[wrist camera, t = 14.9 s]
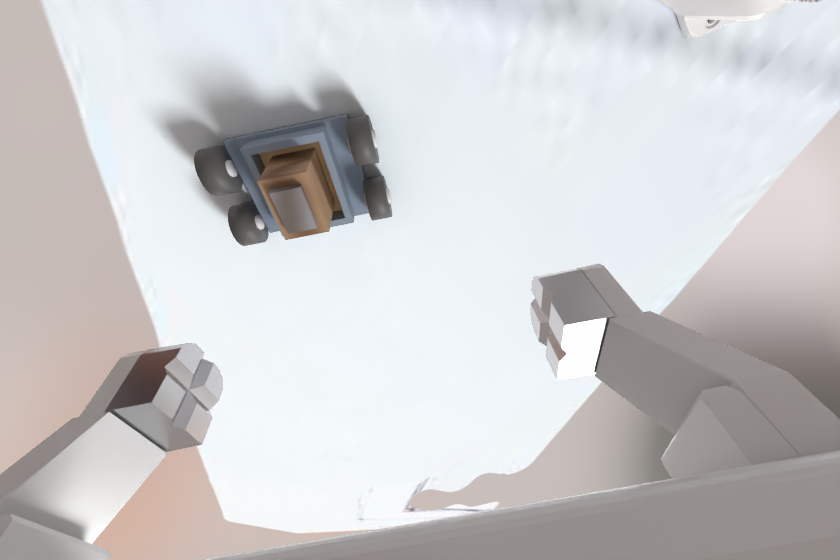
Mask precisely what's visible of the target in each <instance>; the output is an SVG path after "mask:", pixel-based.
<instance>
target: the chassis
mask: <svg viewBox="0 0 840 560" xmlns="http://www.w3.org/2000/svg"><path fill="white" fill-rule="evenodd" d="M223 143H224V145H225V146H223V145H221V146H216V147H211V148H206V149H201V150H198V151H197V152H196V153H195V157H194V163H195V169H196V172H197V175H198V177H199V179H200V181H201V183H202V184H203V186H204V187H205V188H206V189H207V191H209V192H210V193H211V194H213V195H222V194H227V193H232V192H237V191H240V190H241V188H242V185H243V181H244V183H245V185H246V187H247V189H248V191H249V193H250V195H251V197H252V199H253V201H254V202H250V203H245V204H240V205H236V206H232V207H231V208H230V209H229V212H228V222H229V227H230V230H231V232H232V234H233V236H234V238H235V239H236V241H237V242H238V243H239V244H241V245H243V246H247V245H252V244H257V243H262V242H265V241H266V240H267V239H268V230H269V232H270V233H271V232H276V231H280V232H281V229H280V227H279V225H278V223H277V221H276V219H275V217H274V215H273V213H272V211H271V209H270V207H269V205H268V203H267V201H266V199H265V197H264V195H263V193H262V191H261V189H260V187H259V185H258V183H257V181H258V180H259V178H260V176H261V175H262V173H263V171H264V170H265V168H266V166H267V165H268V163H269V161H270V160H271V158H272V156H276V155H280V154H285V153H290V152H295V151H300V150H305V149H310V148H314V147H315V148H316V151H317V154H318V157H319V160H320V162H321V165H322V168H323V171H324V174H325V177H326V179H327V182H328V185H329V188H330V191H331V193H332V196H333V199H334V202H335V203H334V208H333V214H332V219H331V224H330V227H333V226H338V225H343V224H348V223H353V222H354V216H356V215H361V214H366V213H369V214H370V217H371V219H372V220H377V219H382V218H388V217H392V210H391V204H390V203H392V202H391V196H390V192H389V189H387V185H386V182H385V178H384V176H379V177H374V178H369V179H365V176H364V173H363V169H362V166H365V165H370V164H375V163H379V157H378V151H377V147H378V143H377V138H376V134H375V131H374V130H373V128H372V124H371V121H370V118H369V116H368V115H365V116H360V117H355V118H350V119H348V116H347V114H344V115H339V116H334V117H329V118H325V119H320V120H315V121H310V122H305V123H301V124H296V125H291V126H286V127H281V128H277V129H272V130H267V131H262V132H257V133H253V134H248V135H243V136H238V137H233V138H229V139H226V140H225V141H224V142H223ZM281 234H282V232H281ZM282 236H283V234H282Z"/></svg>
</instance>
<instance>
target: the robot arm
mask: <svg viewBox="0 0 840 560" xmlns="http://www.w3.org/2000/svg"><path fill="white" fill-rule="evenodd" d="M659 1H660V2H661V3H663V4H664V5H665V6H667V7H668V8H669V9H671V10H672V11H673V12H674V13H675V14H676V16H677V19H678V22H679V25H680V28H681V30H682V32H683V34H684V35H685V36H687V37H698V36H701V35H704V34H706V33H708V32H711V31H713V30H716V29H718V28H720V27H723V26H725V25H728V24H730V23H732V22H735V21H737V20H756V19H760V18H761V17H762V16H763V14H764V13H767V12H770V11H773V10H776V9H778V8H780V7H782V6H784V5H786V4H788V3H791V2H793V1H796V2H818V1H821V0H659ZM707 20H709V21H708V22H707ZM531 290H532V292H533V294H534V296H535V299H534V301H533V302H532V303H531V319H532V325H533V328H534V331H535V334H536V336H537V338H538V340H539V342H541V343H543V344H544V345H546V346H547V349H546V357H547V360H548V362H549V364H550V366H551V368H552V370H553V372H554V374H555V376H556V378H557V380H559V379H566V378H572V377H579V376H585V375H592V374H595V376H596V377H597V378H598V379H600V380H601V381H602V382H604V383H605V384H606V385H608V386H609V387H610V388H612V389H613V390H614V391H616V392H617V393H618V394H620V395H621V396H622V397H624V398H625V399H626V400H628V401H629V402H630V403H632V404H633V405H634V406H636V407H637V408H638V409H640V410H641V411H642V412H644V413H645V414H646V415H648V416H649V417H650V418H652V419H653V420H655V421H656V422H657V423H658V424H659V425H661V426H662V427H663V428H665V429H666V430H668V431H669V432H670V433H672V434H673V435H674V438H673V439H672V441H671V443H670V444H669V446H668V448H667V449H666V451H665V453H664V455H663V457H662V459H661V461H662V463H663V464H664V466H665V468H666V470H667V471H668V473H669V475H670V476H671V478H672V479H669V480H663V481H657V482H651V483H645V484H640V485H634V486H628V487H622V488H616V489H611V490H605V491H599V492H593V493H587V494H581V495H576V496H570V497H564V498H558V499H552V500H547V501H541V502H535V503H530V504H524V505H518V506H512V507H506V508H500V509H494V510H488V511H482V512H477V513H471V514H465V515H459V516H453V517H448V518H442V519H436V520H430V521H424V522H419V523H413V524H407V525H401V526H395V527H389V528H384V529H378V530H372V531H367V532H361V533H355V534H349V535H343V536H337V537H332V538H325V539H320V540H314V541H308V542H302V543H297V544H291V545H285V546H279V547H273V548H267V549H261V550H256V551H250V552H244V553H238V554H232V555H227V556H221V557H215V558H209V559H203V560H840V420H839V419H838V418H837V417H836V416H835V415H834V414H833V413H832V412H831V411H830V410H829V409H828V408H826V407H825V406H824V405H823V404H822V403H821V402H820V401H819V400H818V399H817V398H816V397H815V396H813V394H811V393H810V392H809V391H808V390H807V389H806V388H805V387H804V386H803V385H802V384H801V383H800V382H799V381H797V380H796V379H795V378H794V377H793V376H792V375H791V374H790V373H788V372H786V371H784V370H782V369H779V368H777V367H775V366H773V365H770V364H768V363H766V362H764V361H761V360H759V359H757V358H755V357H752V356H750V355H748V354H746V353H743V352H741V351H739V350H736V349H734V348H732V347H730V346H728V345H725V344H723V343H721V342H718V341H716V340H714V339H711V338H710V337H707V336H705V335H703V334H700V333H698V332H696V331H694V330H691V329H689V328H687V327H684V326H682V325H680V324H678V323H676V322H673V321H671V320H669V319H667V318H664V317H662V316H660V315H658V314H655V313H653V312H651V311H648V312H642V311H641V309H640V308H639V307H638V306H637V305H636V304H635V302H634V301H633V300H632V299H631V298H630V296H629V295H628V294H627V293H626V292H625V290H624V289H623V288H622V287H621V286H620V285H619V283H618V282H617V281H616V280H615V279H614V277H613V276H612V275H611V274H610V273H609V272H608V270H607V269H606V268H605V267H604V266H603V265H601V264H596V265H591V266H586V267H581V268H577V269H572V270H567V271H562V272H557V273H552V274H547V275H542V276H537V277H534V278H533V280H532V289H531ZM203 355H204V352H203V351H202V350H201V349H200V348H199V347H198V346H197V345H196V344H193V343H186V344H180V345H174V346H168V347H162V348H156V349H150V350H147V351H141V352H135V353H129V354H127V355H125V356H123V357H122V358H120V359H119V361H118V362H117V363H116V365H115V366H114V368H113V369H112V371H111V372H110V373H109V375H108V376H107V378H106V379H105V381H104V382H103V384H102V385H101V386H100V388H99V389H98V391H97V392H96V394H95V395H94V397H93V398H92V399H91V401H90V402H89V404H88V405H87V406H86V408H85V409H84V411H83V412H82V414H81V415H80V417H78V418H73V419H71V420H70V421H68V422H67V423H66V424H65V425H63V426H62V427H61V428H60V429H58V430H57V431H56V432H54V433H53V434H52V435H50V436H49V437H48V438H47V439H45V440H44V441H43V442H41V443H40V444H39V445H38V446H36V447H35V448H34V449H32V450H31V451H30V452H29V453H27V454H26V455H25V456H23V457H22V458H21V459H20V460H18V461H17V462H16V463H15V464H13V465H12V466H11V467H9V468H8V469H7V470H5V471H4V472H3V473H2V474H0V560H109V559H110V553H109V550H106V549H103V548H101V547H98V546H95V545H93V544H92V543H93V542H94V541H95V539H96V538H97V537H98V536H99V535H100V533H101V532H102V531H103V530H104V529H105V528H106V526H107V525H108V524H109V522H110V521H111V520H112V519H113V518H114V517H115V516H116V514H117V513H118V512H119V511H120V510H121V508H122V507H123V506H124V505H125V504H126V502H127V501H128V500H129V499H130V498H131V496H132V495H133V494H134V493H135V492H136V490H137V489H138V488H139V487H140V485H141V484H142V483H143V482H144V481H145V480H146V478H147V477H148V476H149V475H150V474H151V472H152V471H153V470H154V469H155V467H156V466H157V465H158V464H159V463H160V462H161V460H162V459H163V458H164V457H165V456H166V454H167V453H166V452H168V451H173V450H177V449H182V448H187V447H192V446H197V445H201V444H202V443H203V441H204V438H205V435H206V433H207V430H208V427H209V425H210V422H211V420H212V416H211V413H210V411H209V410H210V409H211V408H212V407H213V406H214V405H215V404H216V403H217V402H218V401H219V398H220V395H221V393H222V376H221V373H220V371H219V369H218V368H217V367H216V365H215V364H214V363H211V362H209V361H207V360H204V359H203Z"/></svg>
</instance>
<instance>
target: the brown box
mask: <svg viewBox="0 0 840 560" xmlns="http://www.w3.org/2000/svg"><path fill="white" fill-rule="evenodd" d="M257 183H258V185H259V187H260V189H261V191H262V193H263V195H264V197H265V199H266V201H267V203H268V205H269V207H270V209H271V211H272V213H273V215H274V217H275V219H276V221H277V223H278V225H279V227H280V229H281V232H282V234H283V236H284V238H285V240H288V239H293V238H298V237H303V236H308V235H313V234H318V233H323V232H328V231H329V230H330V224H331V219H332V214H333V208H334V203H335V202H334V199H333V196H332V193H331V191H330V188H329V185H328V182H327V179H326V177H325V174H324V171H323V168H322V165H321V162H320V160H319V157H318V154H317V151H316V148H315V147H314V148H310V149H305V150H300V151H295V152H290V153H285V154H280V155H276V156H272V158H271V160H270V161H269V163H268V165H267V166H266V168H265V170H264V171H263V173H262V175H261V176H260V178H259V180H258V181H257Z"/></svg>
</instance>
